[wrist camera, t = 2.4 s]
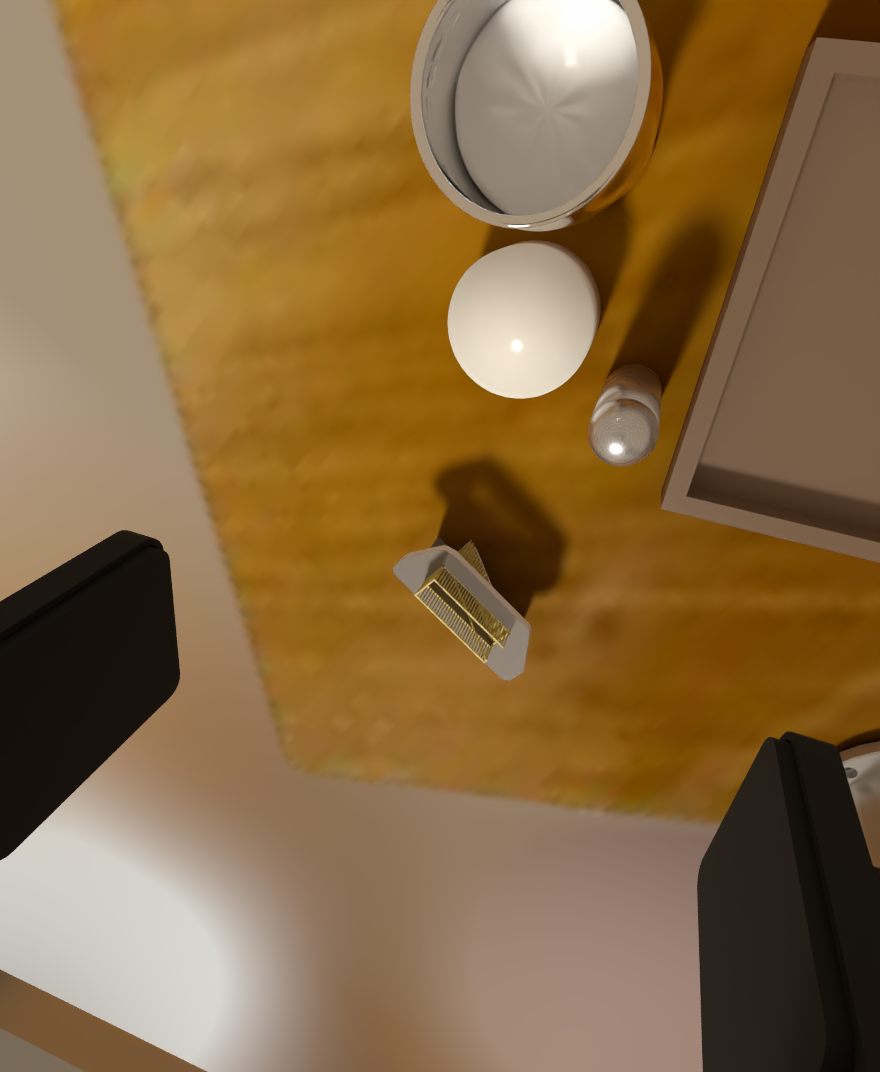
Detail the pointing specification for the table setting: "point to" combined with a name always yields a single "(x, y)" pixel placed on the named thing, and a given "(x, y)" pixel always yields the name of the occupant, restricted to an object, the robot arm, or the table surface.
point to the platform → (468, 604)
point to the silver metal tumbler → (536, 106)
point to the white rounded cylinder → (524, 318)
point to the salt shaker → (626, 416)
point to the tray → (800, 331)
